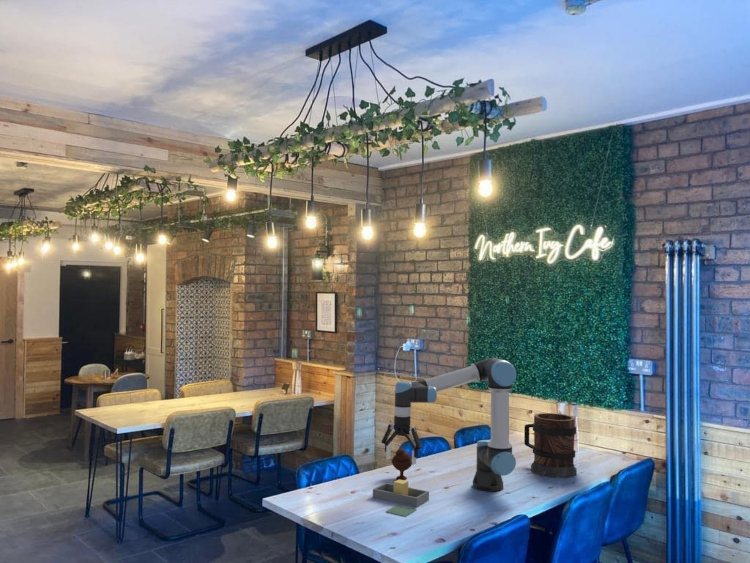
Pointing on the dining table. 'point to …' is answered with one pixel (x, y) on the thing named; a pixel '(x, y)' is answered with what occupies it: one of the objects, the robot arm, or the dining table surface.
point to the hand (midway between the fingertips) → (400, 461)
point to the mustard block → (401, 487)
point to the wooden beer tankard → (552, 445)
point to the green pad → (401, 510)
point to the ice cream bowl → (402, 462)
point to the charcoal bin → (413, 498)
